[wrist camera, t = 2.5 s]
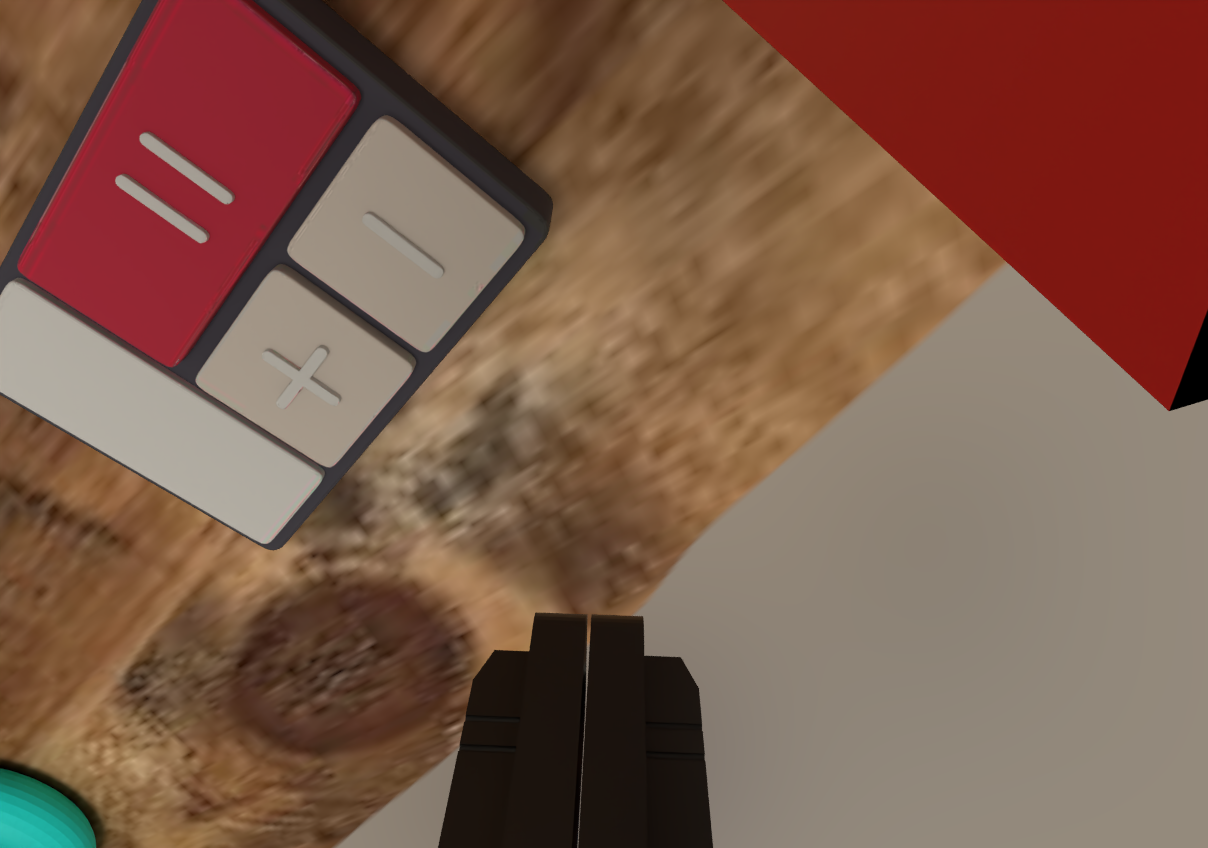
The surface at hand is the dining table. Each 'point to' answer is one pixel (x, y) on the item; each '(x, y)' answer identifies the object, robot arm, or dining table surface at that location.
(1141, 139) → the book
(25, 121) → the dining table surface
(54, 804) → the donuts
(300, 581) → the dining table surface
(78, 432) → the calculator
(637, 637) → the robot arm
